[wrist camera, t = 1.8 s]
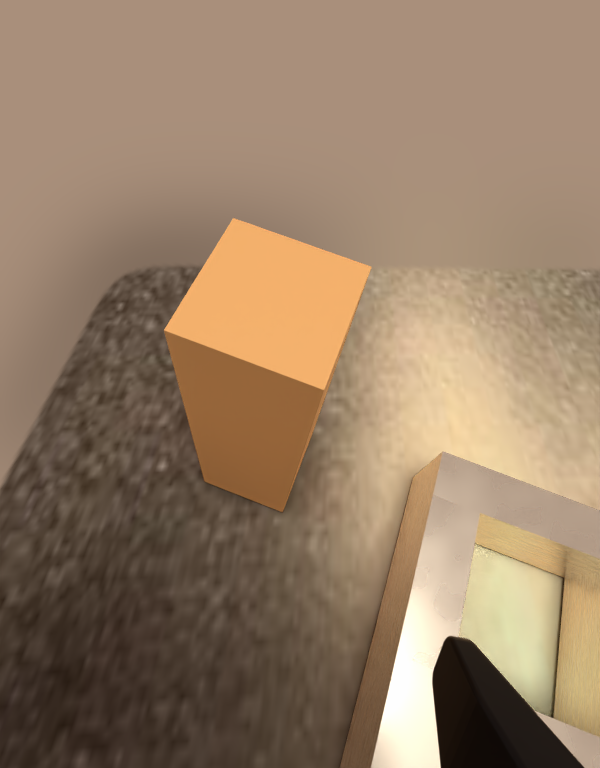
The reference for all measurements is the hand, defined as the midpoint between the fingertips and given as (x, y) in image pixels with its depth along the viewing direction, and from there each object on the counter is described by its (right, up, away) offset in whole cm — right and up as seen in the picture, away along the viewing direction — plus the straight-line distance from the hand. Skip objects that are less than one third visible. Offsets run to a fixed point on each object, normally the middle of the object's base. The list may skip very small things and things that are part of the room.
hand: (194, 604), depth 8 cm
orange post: (0, 0, +15) cm, 15 cm away
